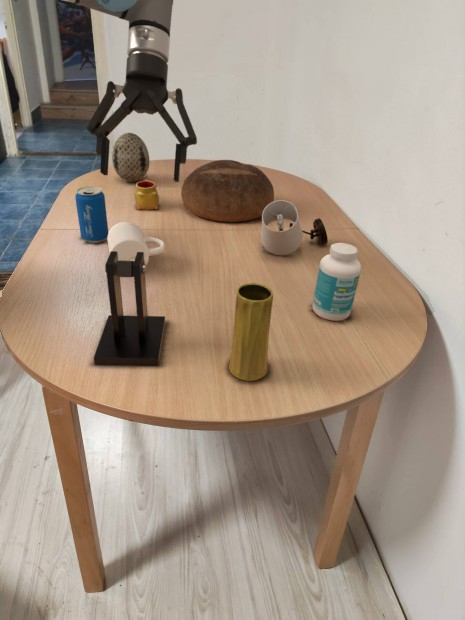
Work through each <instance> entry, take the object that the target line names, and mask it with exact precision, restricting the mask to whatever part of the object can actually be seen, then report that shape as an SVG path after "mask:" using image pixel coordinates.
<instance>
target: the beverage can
mask: <svg viewBox="0 0 465 620" xmlns="http://www.w3.org/2000/svg"><path fill="white" fill-rule="evenodd" d="M74 198H75V205H76V211H77V218H78V225H79V233H80V237H81V240H83V241H85V242H87V243H90V244H98V243H102V242H104V241H106V240H107V238H108V233H109V225H108V217H107V216H108V215H107V207H106V196H105V193H104V192H103V189H102V188H101V187H99V186H83V187H82V186H81V187H79V188H77V189H76V193H75V197H74Z"/></svg>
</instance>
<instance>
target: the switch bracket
mask: <svg viewBox="0 0 465 620" xmlns="http://www.w3.org/2000/svg"><path fill="white" fill-rule="evenodd" d="M117 261H118V252H117V251H111V253H110V255H109V254H108V257H107V260H106V262H105V263H104V264H105V265H104V272H105V275H106V282H107V291H108V299H109V300H108V301H109V310H110V314H108V316H107V319H106V322H105V324H104V326H103V330H102V333H101V336H100V339H99V342H98V345H97V347H96V350H95V353H94V356H93V363H94V365H97V366H98V365H99V366H101V365H102V366H103V365H104V366H159V365H160V360H161V353H162V347H163V342H164V341H163V340H164V334H165V327H166V316H165V315H148V298H147V281H146V274H147V269H146V265H144V252H137V254H136V258H135V261H134V264H133V271H134V276H133V283H134V295H135V307H136V315H124V314H125V313H124V304H123V303H124V302H123V294H122V293H123V292H122V284H121V277H117Z"/></svg>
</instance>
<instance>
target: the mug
mask: <svg viewBox="0 0 465 620" xmlns="http://www.w3.org/2000/svg"><path fill="white" fill-rule="evenodd" d="M106 240H107V245H108V256H109V255H110V253H111V251H117V252H118V261H119V260H126V261H128V259H129V258H131V257H133V256H136V254H137V252H144V260H145V262H146V264H147V265H148V263H149V261H150V257H152V256H158V255H161V254H163V253H164V252H165V251H166V244H165V242H164V241H163V240H162V239H160V238H156V237H153V236H145V234H144V232H143V230H142V229H141V227H140V226H138V225H137V224H136V223H133V222H131V221H121V222H118V223H116V224H114V225H113V226H111V228H110V229H109V230H108V237H107V238H106ZM147 244H155V245H158V246H157V247H152V248H148V246H147Z"/></svg>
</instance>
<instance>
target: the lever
mask: <svg viewBox="0 0 465 620" xmlns="http://www.w3.org/2000/svg"><path fill="white" fill-rule="evenodd" d="M135 258H136V256H133V257H131V258H129V259H128V261H126V260H119V261H117V277H120V278H134V271H133V264H134V261H135ZM144 265H146V270H148V263H147V264H146V262H145V260H144Z"/></svg>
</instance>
